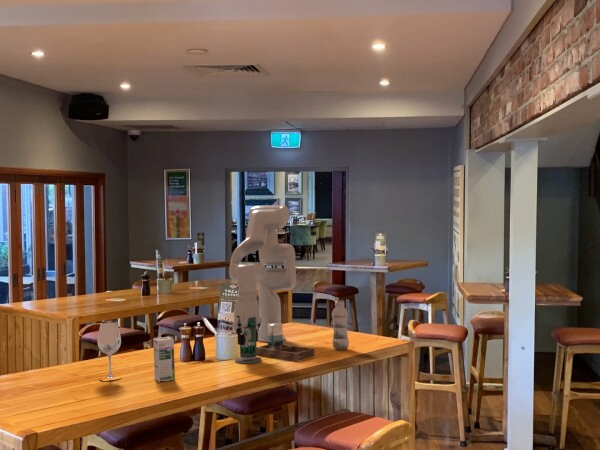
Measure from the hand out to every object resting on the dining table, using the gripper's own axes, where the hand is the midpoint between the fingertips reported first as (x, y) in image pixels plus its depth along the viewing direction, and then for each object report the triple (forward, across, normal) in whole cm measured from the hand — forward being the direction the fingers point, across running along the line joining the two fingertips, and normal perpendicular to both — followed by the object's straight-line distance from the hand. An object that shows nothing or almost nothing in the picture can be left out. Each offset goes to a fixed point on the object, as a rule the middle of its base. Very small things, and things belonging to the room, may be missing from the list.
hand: (247, 342), depth 260 cm
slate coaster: (+7, 0, 0) cm, 7 cm away
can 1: (+5, 0, 0) cm, 5 cm away
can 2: (+7, -15, +1) cm, 16 cm away
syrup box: (+7, +37, -5) cm, 38 cm away
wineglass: (+7, +47, -22) cm, 53 cm away
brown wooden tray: (+7, -15, +6) cm, 18 cm away
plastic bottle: (+7, -36, +18) cm, 41 cm away
